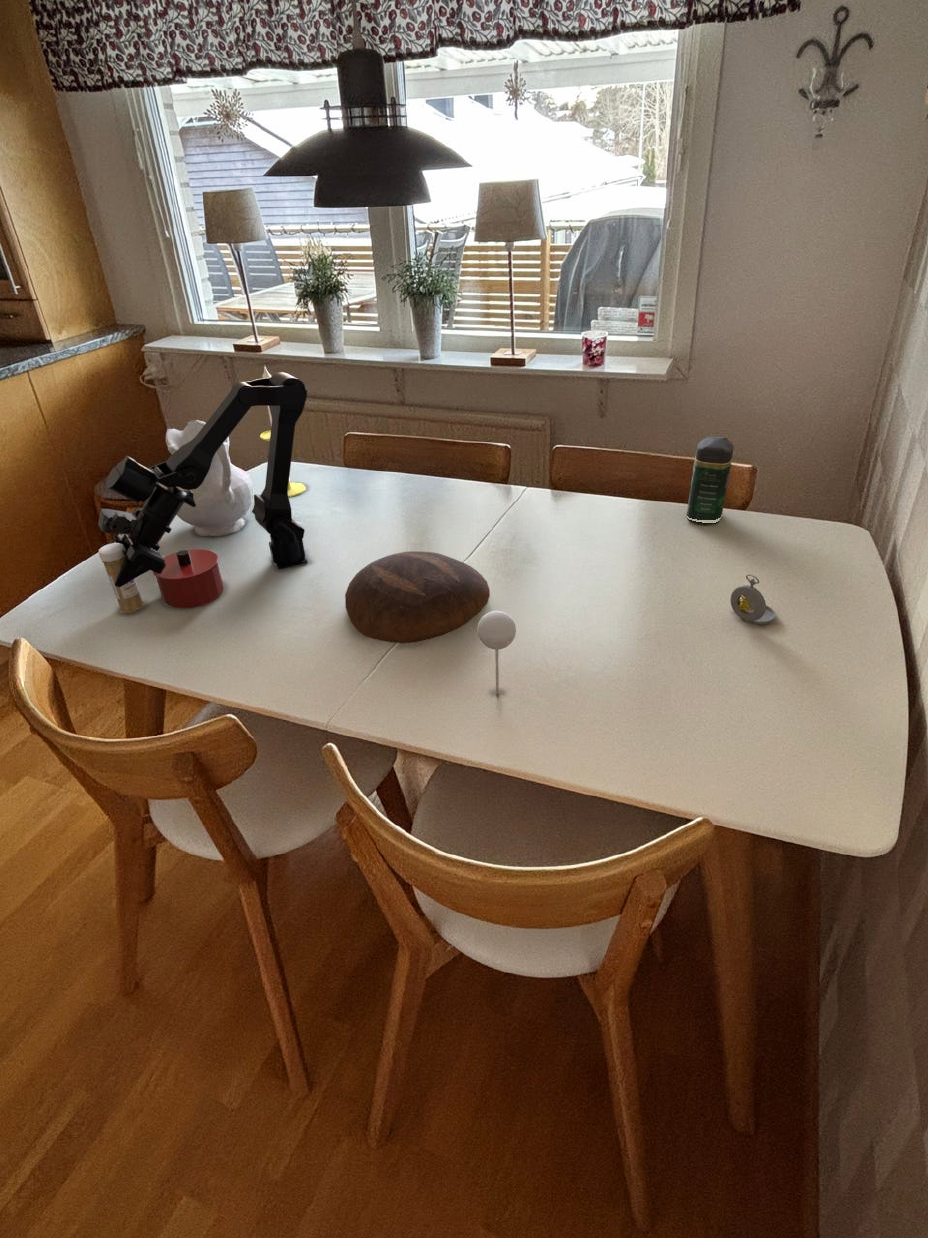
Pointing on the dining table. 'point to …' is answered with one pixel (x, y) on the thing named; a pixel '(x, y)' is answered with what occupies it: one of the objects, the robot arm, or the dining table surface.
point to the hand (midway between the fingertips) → (114, 581)
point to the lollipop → (496, 634)
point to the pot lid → (187, 564)
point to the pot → (192, 590)
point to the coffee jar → (710, 479)
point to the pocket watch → (751, 604)
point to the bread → (414, 597)
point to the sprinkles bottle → (113, 563)
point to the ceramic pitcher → (214, 489)
